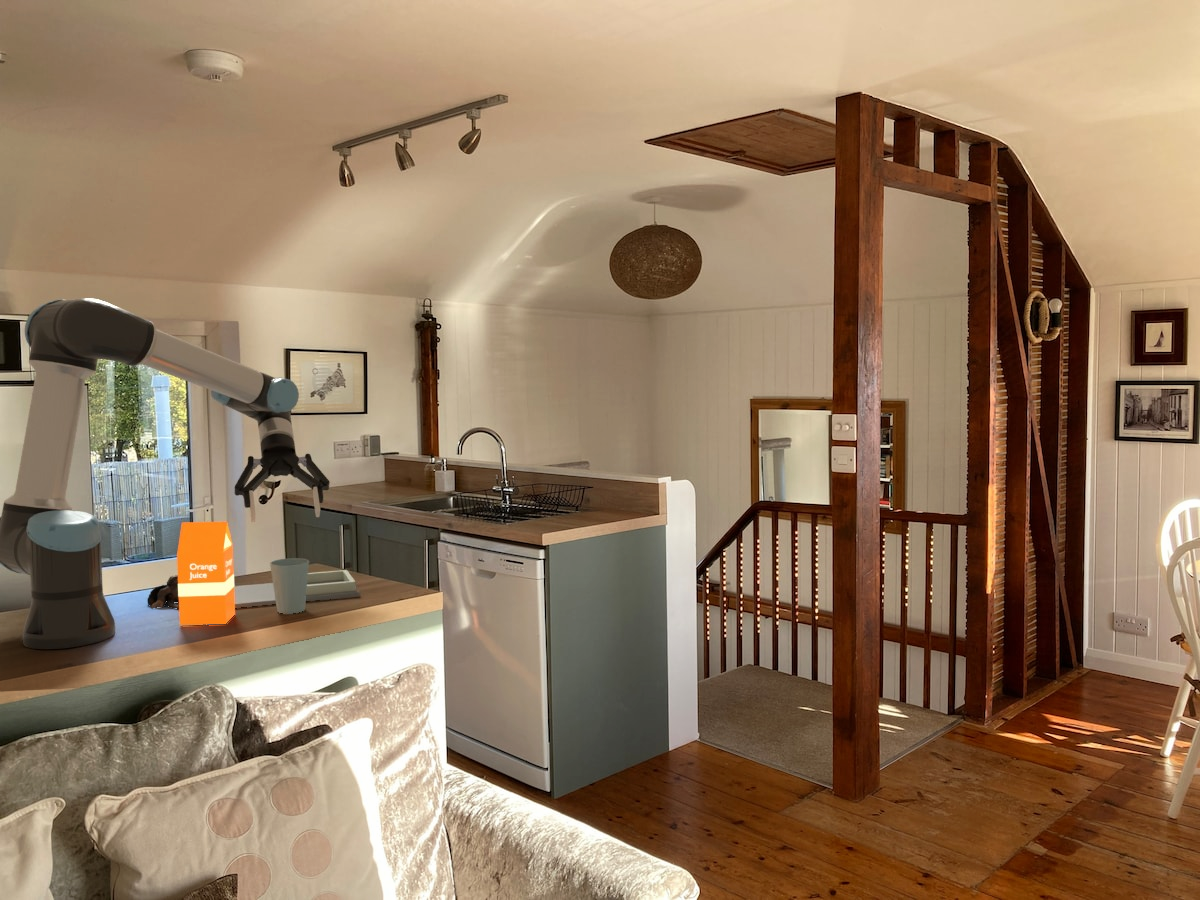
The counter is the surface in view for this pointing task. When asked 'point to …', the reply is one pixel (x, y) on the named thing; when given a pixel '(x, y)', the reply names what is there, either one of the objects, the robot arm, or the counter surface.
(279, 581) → the cup
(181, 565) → the orange juice
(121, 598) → the counter surface
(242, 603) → the board
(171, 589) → the stuffed animal
